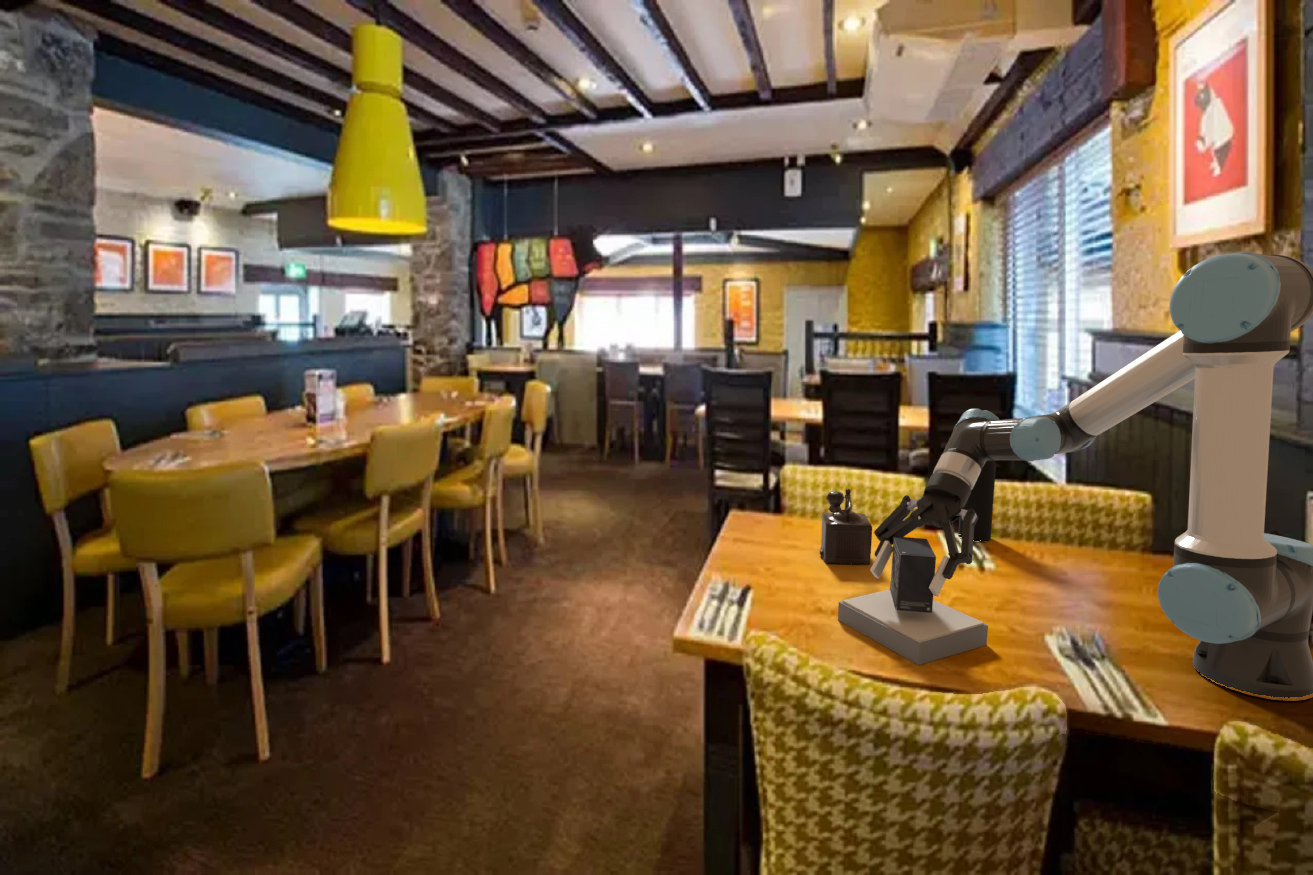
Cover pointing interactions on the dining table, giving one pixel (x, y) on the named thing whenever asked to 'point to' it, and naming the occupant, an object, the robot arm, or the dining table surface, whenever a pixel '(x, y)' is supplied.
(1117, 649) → the dining table surface
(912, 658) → the stand
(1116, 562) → the dining table surface
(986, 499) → the wine bottle
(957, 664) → the dining table surface
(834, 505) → the pepper mill
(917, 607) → the small box
